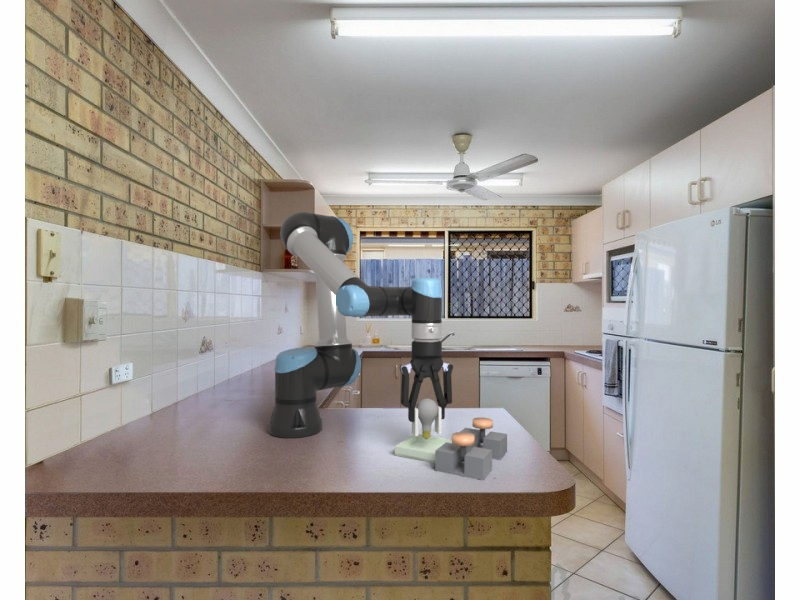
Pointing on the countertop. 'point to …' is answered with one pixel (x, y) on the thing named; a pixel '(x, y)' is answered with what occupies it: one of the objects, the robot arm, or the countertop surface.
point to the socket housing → (472, 455)
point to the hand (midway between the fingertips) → (426, 433)
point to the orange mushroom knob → (482, 426)
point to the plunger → (463, 442)
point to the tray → (420, 447)
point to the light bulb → (427, 415)
